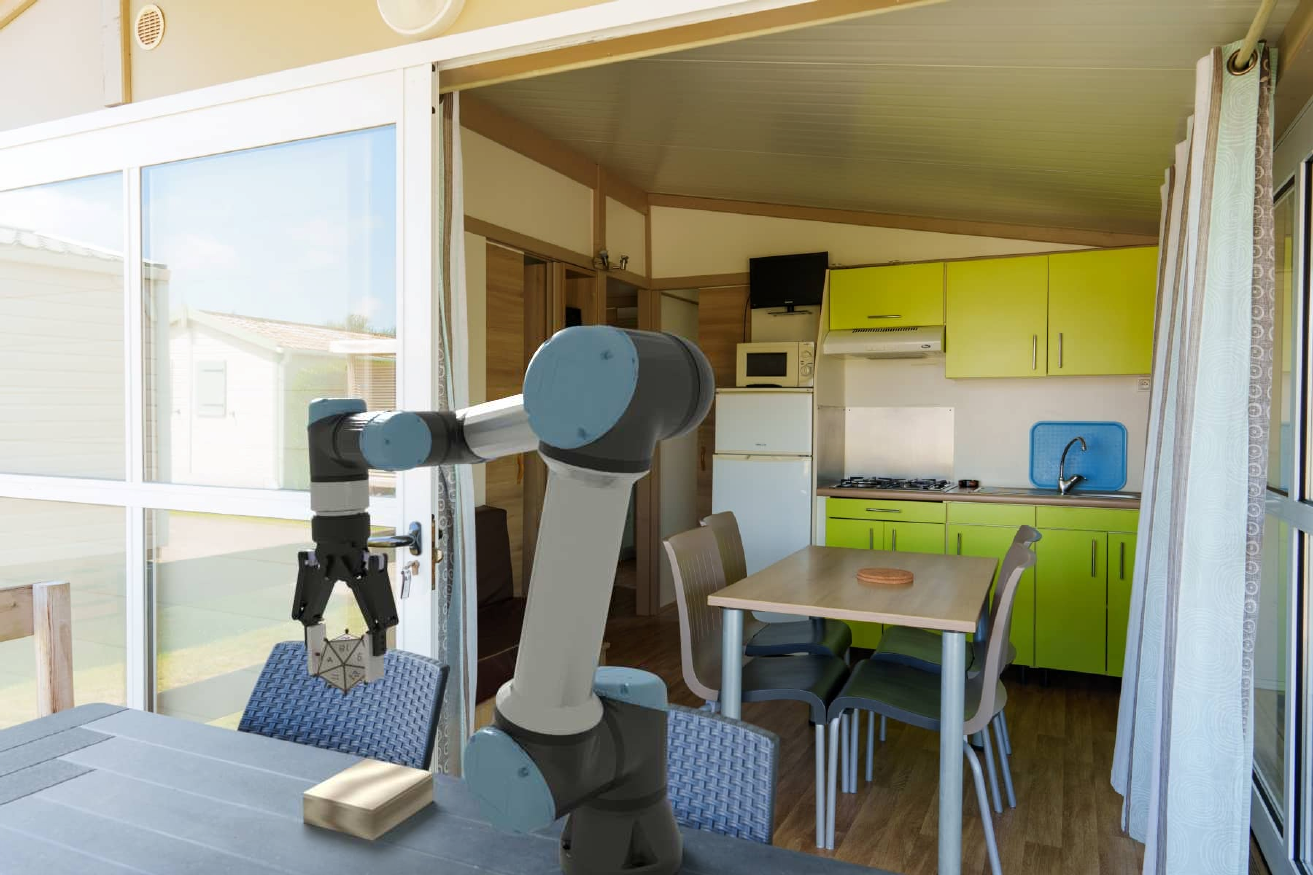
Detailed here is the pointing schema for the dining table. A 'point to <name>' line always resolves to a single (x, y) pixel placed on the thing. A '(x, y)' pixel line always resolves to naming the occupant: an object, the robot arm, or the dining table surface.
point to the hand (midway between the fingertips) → (345, 675)
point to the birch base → (368, 798)
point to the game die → (342, 662)
